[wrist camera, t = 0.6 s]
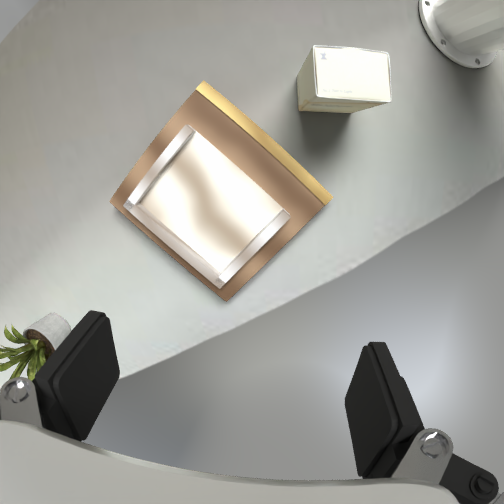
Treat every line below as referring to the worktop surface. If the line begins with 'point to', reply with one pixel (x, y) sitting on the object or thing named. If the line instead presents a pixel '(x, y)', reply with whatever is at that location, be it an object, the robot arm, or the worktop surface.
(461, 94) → the worktop surface
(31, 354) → the house plant
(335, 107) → the skincare box
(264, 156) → the dock
